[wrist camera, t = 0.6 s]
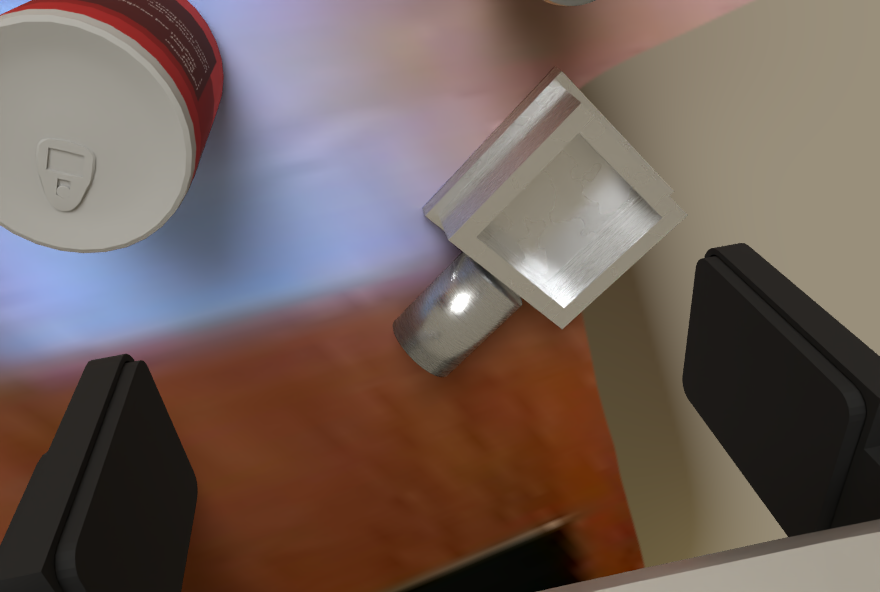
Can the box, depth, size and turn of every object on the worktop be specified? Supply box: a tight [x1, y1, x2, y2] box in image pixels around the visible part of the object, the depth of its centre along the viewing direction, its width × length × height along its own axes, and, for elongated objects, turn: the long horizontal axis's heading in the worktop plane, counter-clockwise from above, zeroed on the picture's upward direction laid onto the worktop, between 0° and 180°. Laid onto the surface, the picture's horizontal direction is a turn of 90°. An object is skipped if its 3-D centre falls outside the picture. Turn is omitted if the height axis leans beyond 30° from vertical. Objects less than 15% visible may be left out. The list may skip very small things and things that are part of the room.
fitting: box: [393, 66, 687, 377], centre depth 37 cm, size 16×10×4 cm, turn 137°
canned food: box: [0, 0, 224, 253], centre depth 26 cm, size 8×8×11 cm
